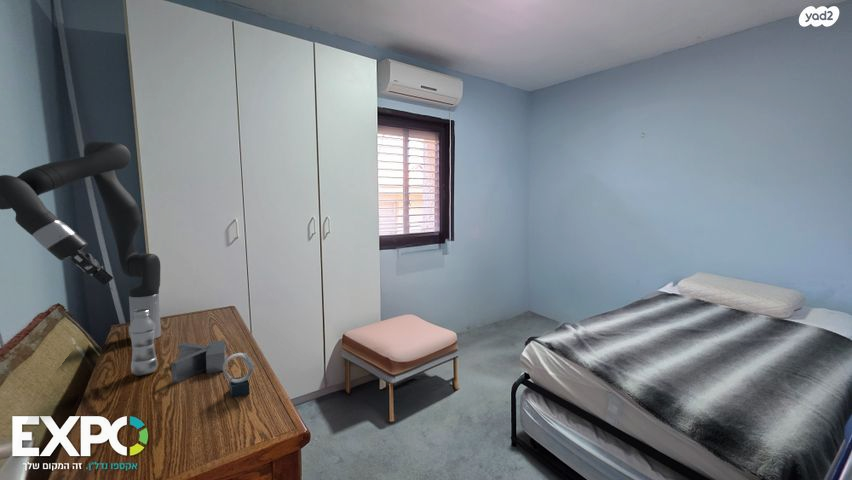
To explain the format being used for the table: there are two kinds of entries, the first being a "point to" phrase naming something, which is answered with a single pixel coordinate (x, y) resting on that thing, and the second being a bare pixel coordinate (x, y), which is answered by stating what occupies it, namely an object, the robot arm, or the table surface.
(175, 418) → the table surface
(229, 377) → the watch
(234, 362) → the table surface
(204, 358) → the v block
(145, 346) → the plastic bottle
